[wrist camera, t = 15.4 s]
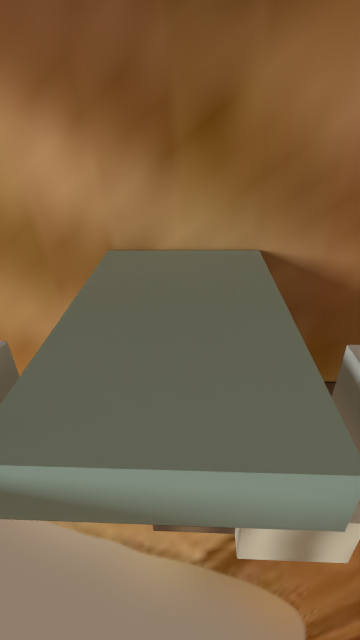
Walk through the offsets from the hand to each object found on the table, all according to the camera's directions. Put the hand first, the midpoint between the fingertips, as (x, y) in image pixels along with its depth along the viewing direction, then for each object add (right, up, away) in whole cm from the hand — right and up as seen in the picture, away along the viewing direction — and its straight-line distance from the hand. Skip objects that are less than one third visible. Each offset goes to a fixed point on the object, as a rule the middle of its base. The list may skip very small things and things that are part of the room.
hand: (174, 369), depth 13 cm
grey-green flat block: (0, +6, +9) cm, 11 cm away
